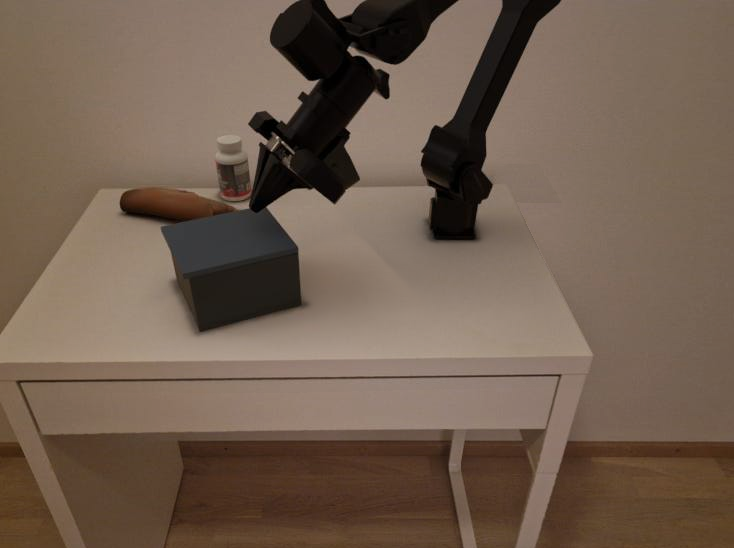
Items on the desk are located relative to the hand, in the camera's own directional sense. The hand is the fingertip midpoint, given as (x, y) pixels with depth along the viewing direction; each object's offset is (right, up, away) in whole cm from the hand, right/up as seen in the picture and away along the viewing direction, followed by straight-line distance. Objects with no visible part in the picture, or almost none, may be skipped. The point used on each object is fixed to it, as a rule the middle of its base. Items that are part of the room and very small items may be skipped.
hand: (252, 210), depth 73 cm
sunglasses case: (-15, +6, +25) cm, 29 cm away
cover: (-3, -4, +1) cm, 5 cm away
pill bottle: (-7, +10, +30) cm, 32 cm away
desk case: (-3, -10, +6) cm, 12 cm away
